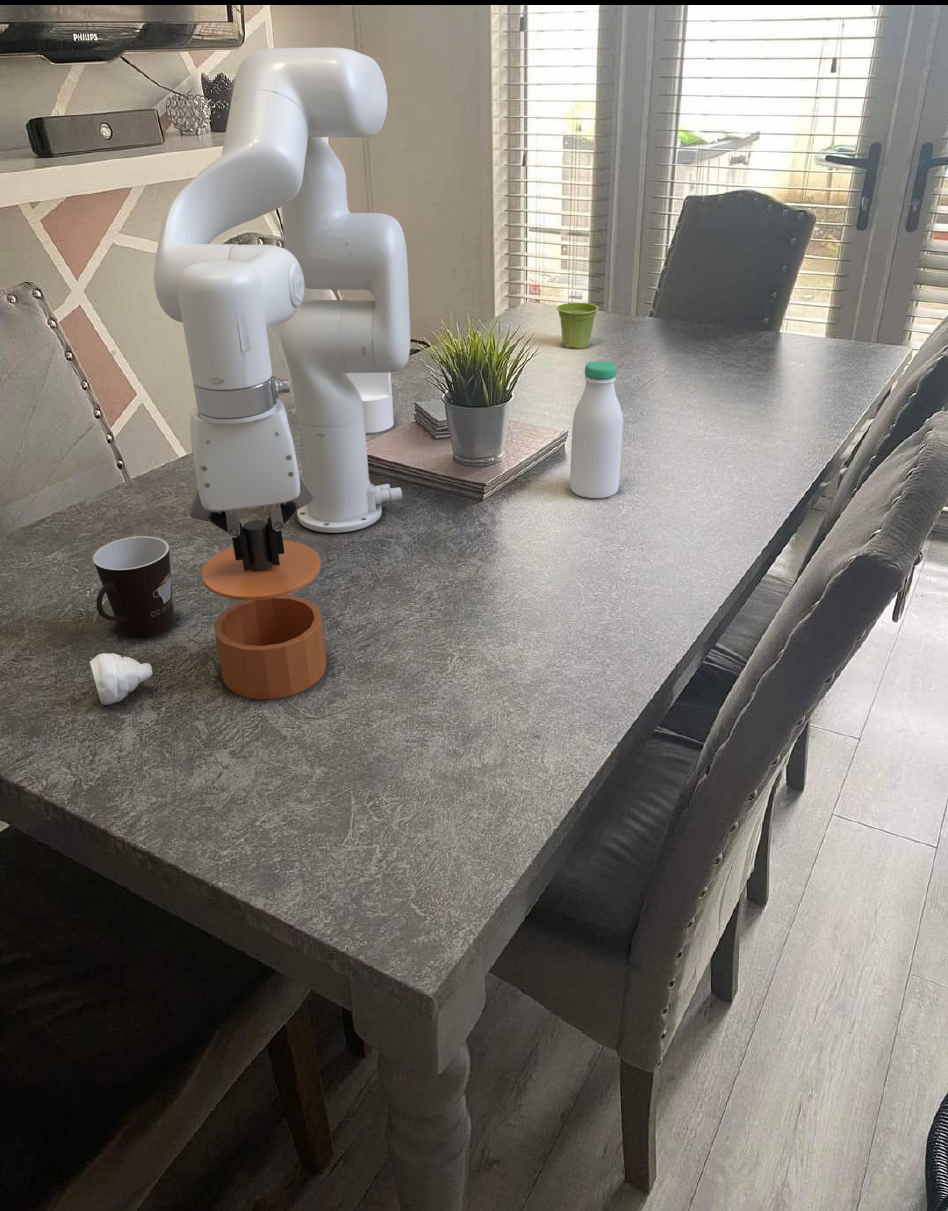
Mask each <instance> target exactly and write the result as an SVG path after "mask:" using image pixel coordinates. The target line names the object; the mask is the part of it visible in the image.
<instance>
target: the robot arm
mask: <svg viewBox="0 0 948 1211" xmlns="http://www.w3.org/2000/svg"><path fill="white" fill-rule="evenodd" d="M387 111H388V90H387V84H386V79H385V77H384V73H383V72H382V69H381V68H380V66H379V64H378V63H377V62H376V60H375V59H373V58H372V57H371V56H369V55H366V54H363V53H361V52H359V51H356V50H353V49H349V48H346V47H335V46H334V47H333V46H332V47H331V46H330V47H328V46H323V47H274V48H273V47H272V48H265V49H260V50H255V51H254V52H252V53H250V54H248V55H247V56H246V57H245V58H244V59H243V60H242V62H240V64H239V66H238V68H237V71H236V74H235V78H234V84H233V88H232V94H231V101H230V105H229V111H228V118H227V123H226V128H225V134H224V139H223V143H222V144H223V145H222V151H221V155H220V156H219V157H218V158H217V159H215V160H214V161H212V162H211V163H210V164H208V165H207V166H205V168H203V169H202V170H201V171H200V172H198V173H197V175H196V176H194V177H193V178H192V179H191V180H190V181H189V182H188V183H187V184H186V185H185V186H184V187H183V188H182V189H181V190H180V191H179V193H178V194H177V195H176V196H175V197H174V198H173V200H172V201H170V202H171V203H170V204H169V205H168V208H167V209H166V212H165V214H164V217H163V219H162V224H161V228H160V234H159V238H158V244H157V248H156V255H155V259H154V260H155V262H154V271H153V273H154V274H153V282H154V290H155V295H156V299H157V302H158V303H159V306H160V308H161V309H162V311H163V312H164V313H165V314H166V315H167V316H168V317H169V318H170V319H172V320H173V321H176V322H179V323H182V328H183V332H184V338H185V345H186V350H187V355H188V361H189V367H190V372H191V373H190V374H191V379H192V385H193V390H194V395H195V399H196V407H195V408H193V409H192V410H191V412H190V421H189V422H190V424H189V425H190V446H191V452H192V460H193V469H194V475H195V481H196V485H195V488H194V492H193V494H192V497H191V502H190V505H189V508H188V511H189V516H190V517H191V518H193V519H196V520H200V521H203V522H207V523H208V522H210V523H211V524H214V525H215V526H216V527H217V528H219V529H220V530H222V531H224V532H226V533H227V534H228V536H229V537H231V540H232V547H234V553H235V559H236V561H237V560H242V561H243V566H244V570H249V568H251V566H250V559H249V553H248V547H247V540H246V535H245V532H244V526H243V524H242V522H241V521H240V518H239V510H245V509H253V508H260V507H266V506H267V510H268V515H269V517H268V518H267V521H266V523H267V528H268V537H269V544H270V551H271V558H272V563H273V565H275V566H278V565H280V562H279V555H278V554H284V545H283V540H284V538H283V532H282V531H283V530H284V527H285V524H286V523H287V522H288V521H289V520H290V519H291V517H292V516H293V515H294V514H295V513H296V516H297V521H298V522H299V524H300V525H301V526H302V527H304V528H306V529H308V530H309V531H310V530H311V531H314V532H318V533H327V534H341V533H349V532H355V531H359V530H362V529H364V528H367V527H369V526H371V525H373V524H374V523H376V522H377V521H379V519H380V518H381V516H382V513H383V511H382V509H383V508H382V503H383V502H396V501H402V500H403V492H402V488H401V487H400V486H399V487H391V485H390V484H389V483H384V484H379V485H375V484H372V483H371V480H370V476H369V462H368V451H367V450H368V448H367V447H368V446H367V433H365V420H364V406H363V401H362V398H361V396H360V393H359V391H358V390H357V388H356V387H355V385H354V384H353V383H352V381H351V380H350V379H349V378H348V377H347V375H346V374H345V373H390V372H391V373H396V372H398V371H399V372H400V371H401V370H402V369H404V368H405V367H406V366H407V364H408V361H409V359H410V354H411V353H410V351H411V319H410V318H411V317H410V294H409V293H410V292H409V291H410V290H409V268H408V266H409V265H408V264H409V263H408V250H407V244H406V243H407V242H406V238H405V234H404V232H403V227H402V226H401V224H400V222H399V220H397V219H396V218H395V217H393V216H392V215H390V214H386V213H382V212H381V213H380V212H351V211H350V210H349V207H348V195H347V194H348V192H347V177H346V175H347V174H346V172H345V168H344V165H343V164H342V162H341V160H340V159H339V157H338V156H337V154H336V153H335V152H334V150H333V149H332V147H331V146H330V145H329V144H328V143H327V142H326V140H324V138H371V137H375V136H377V134H378V133H379V132H380V131H381V129H382V128H383V126H384V124H385V121H386V118H387ZM280 208H281V217H282V218H281V219H282V231H283V242H284V247H281V246H278V245H274V244H235V243H211V242H213V240H215V239H217V238H218V237H219V236H221V235H222V234H223V233H226V232H227V231H228V230H230V229H233V228H235V227H237V226H240V225H242V224H245V223H247V222H251V221H253V220H256V219H258V218H260V217H262V216H265V215H267V214H269V213H271V212H274V211H276V210H278V209H280ZM305 289H310V290H327V291H331V290H332V291H333V290H335V291H368V292H370V293H371V294H372V296H373V298H374V300H373V299H371V300H368V299H367V300H365V299H364V300H347V299H312V300H306V301H304V297H305ZM276 326H277V327H278V326H279V334H280V342H281V345H282V350H283V353H284V356H285V357H284V358H285V360H286V364H287V367H288V371H289V375H290V379H291V384H292V385H291V386H292V390H293V397H294V405H295V414H296V420H297V421H296V422H297V429H298V430H297V431H298V439H299V448H300V449H299V450H300V457H301V466H302V474H303V477H302V476H301V474H300V472H299V467H298V460H297V456H296V455H297V454H296V449H295V443H294V439H293V435H292V430H291V426H290V423H289V417H288V415H287V412H286V409H285V406H284V403H283V401H282V400H280V399H279V398H280V397H279V396H282V395H283V394H290V392H291V390H290V384H289V379H288V378H284V379H281V378H276V376H275V375H273V369H272V361H271V353H270V352H271V351H270V346H269V337H268V332H267V330H269V329H271V328H273V327H276Z"/></svg>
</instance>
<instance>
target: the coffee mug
mask: <svg viewBox="0 0 948 1211" xmlns="http://www.w3.org/2000/svg"><path fill="white" fill-rule="evenodd" d="M170 556H171V555H170V544H168V542H167V541H166V540H164V539H162V538H159V537H155V536H144V535H141V536H140V535H139V536H129V537H125V538H120V539H117V540H113V541H111V542H108V543H106V544H105V545H102V546H100V548H98V549H97V550H96V551H95V552H94V554H93V555H92V561H93V564H94V567H95V569H96V572H97V574H98V577H99V580H100V582H101V585H102V587H101V588H100V590H99V591H98V594H97V596H96V603H95V604H96V610H97V613H98V615H99V616H100V617H102V619H105V620H108V621H110V622H111V621H112V622H116V623H117V626H118V628H119V631H120V633H121V634H122V635H123V636H124V637H127V638H130V639H136V640H137V639H140V640H141V639H148V638H149V639H150V638H154V637H157V636H159V635H162V634H163V633H165V632H167V631H168V630H170V629H171V628H172V627H173V625H174V623H175V617H174V603H173V588H172V587H173V586H172V572H171V557H170ZM105 595H106V598H107V600H108V602H109V604H110V607H111V610H112V613H113V616H112V615H109V614H107V613H106V612H105V610H104V608H103V599H104V596H105Z"/></svg>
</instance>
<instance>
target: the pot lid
mask: <svg viewBox="0 0 948 1211" xmlns="http://www.w3.org/2000/svg"><path fill="white" fill-rule="evenodd" d="M267 523H268V522H267V521H265V520H261V519H254V520H249V521H247V522H246V523H244V524H243V527H244V532H245V535H246V540H247V547H248V553H249V559H250V566H251V568H249V570H244V566H243V561H242V560H237V561H236V559H235V553H234V547H233V546H230V547H228V548H225V549H223V550H221V551H219V552H217V553H216V554H215V555H213V556H212V557H210V558H209V559H208V560H207V562H206V563H205V564H204V566H203V568H202V569H201V570H202V571H201V581H202V583H203V585H204V587H205V588H206V589H207V590H208V591H209V592H212V594H214V595H217V596H218V597H220V598H221V597H222V598H225V599H229V600H234V601H253V600H265V599H271V598H277V597H280V596H284V595H291V594H293V593H295V592H297V591H299V590H301V589H304V588H305V587H306V586H308V585H309V584H311V583H312V582H313V581H315V579H316V578H317V577H318V575H319V574H320V571H321V568H322V563H321V557H320V555H319V553H318V552H317V551H316V550H315V549H313V548H312V547H310V546H309V545H306V544H304V543H301V542H298V541H295V540H290V539H289V540H287V539H283V545H284V554H278V555H279V562H280V565H278V566H275V565H273V563H272V558H271V551H270V544H269V537H268V528H267Z"/></svg>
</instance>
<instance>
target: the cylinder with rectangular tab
mask: <svg viewBox="0 0 948 1211" xmlns="http://www.w3.org/2000/svg"><path fill="white" fill-rule="evenodd" d="M345 374H346V375H347V377H348V378H349V379H350V380H351V381H352V383H353V384H354V385H355V387H356V388H357V390H358V391H359V393H360V396H361V398H362V401H363V406H364V420H365V433H366V434H373V433H380V432H384V431H387V430H389V429H391V428H393V426H394V424H395V422H394V406H393V405H394V404H393V388H392V372H390V373H345Z"/></svg>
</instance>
